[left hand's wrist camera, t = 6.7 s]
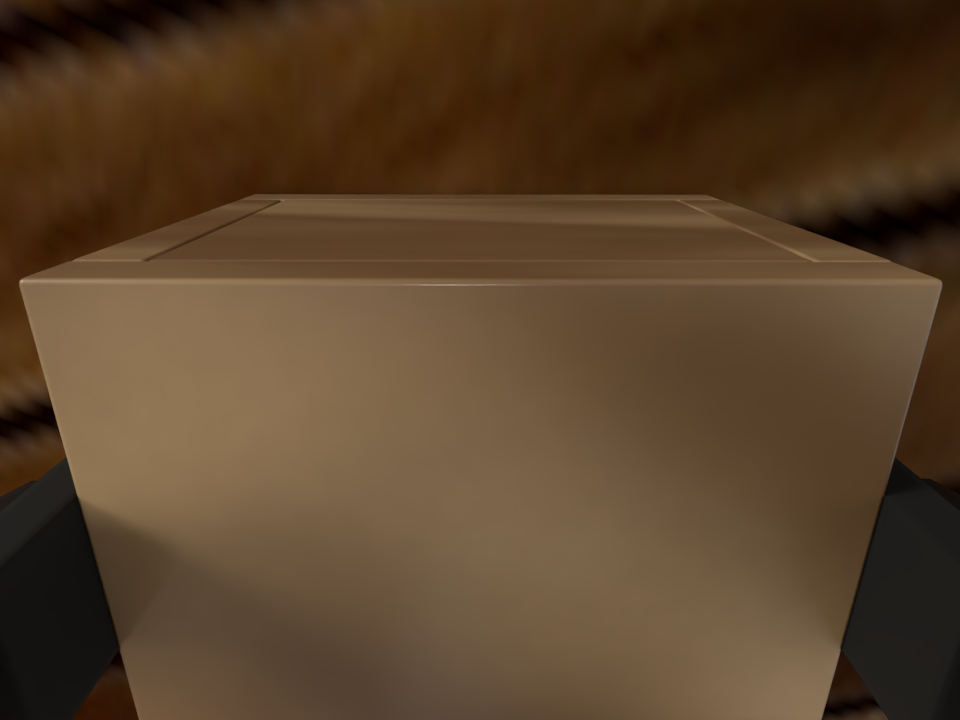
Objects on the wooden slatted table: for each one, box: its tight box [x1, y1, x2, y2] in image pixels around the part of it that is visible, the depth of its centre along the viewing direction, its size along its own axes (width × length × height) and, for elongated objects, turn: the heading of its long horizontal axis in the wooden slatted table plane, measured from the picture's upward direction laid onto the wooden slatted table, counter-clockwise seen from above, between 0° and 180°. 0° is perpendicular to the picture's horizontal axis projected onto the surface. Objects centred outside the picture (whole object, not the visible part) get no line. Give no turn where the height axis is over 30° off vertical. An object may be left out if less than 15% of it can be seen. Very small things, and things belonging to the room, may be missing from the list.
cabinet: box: [19, 194, 942, 720], centre depth 14 cm, size 16×11×8 cm, turn 0°
